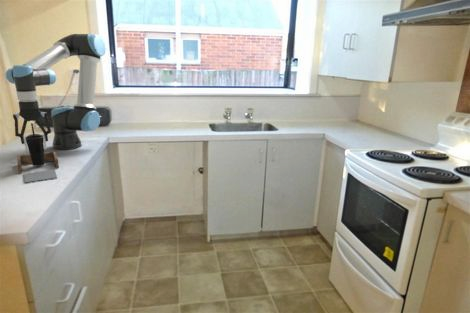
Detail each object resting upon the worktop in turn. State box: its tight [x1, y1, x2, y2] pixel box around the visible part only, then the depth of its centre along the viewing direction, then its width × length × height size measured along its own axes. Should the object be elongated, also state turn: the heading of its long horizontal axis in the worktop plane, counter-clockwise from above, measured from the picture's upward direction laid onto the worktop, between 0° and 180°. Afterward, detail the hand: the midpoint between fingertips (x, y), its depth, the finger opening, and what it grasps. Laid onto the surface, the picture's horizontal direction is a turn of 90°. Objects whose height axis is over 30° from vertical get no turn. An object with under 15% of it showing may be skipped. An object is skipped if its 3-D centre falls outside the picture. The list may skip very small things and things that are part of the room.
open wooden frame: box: [16, 151, 60, 175], centre depth 156 cm, size 16×15×4 cm
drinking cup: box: [25, 123, 46, 167], centre depth 154 cm, size 8×8×20 cm
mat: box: [23, 168, 58, 184], centre depth 144 cm, size 12×12×1 cm
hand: (36, 149), depth 154 cm, fingers closed on drinking cup, 7 cm apart
